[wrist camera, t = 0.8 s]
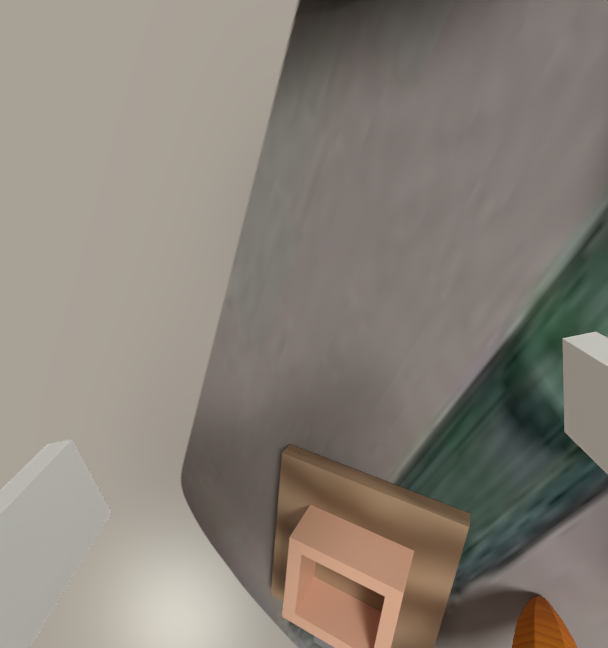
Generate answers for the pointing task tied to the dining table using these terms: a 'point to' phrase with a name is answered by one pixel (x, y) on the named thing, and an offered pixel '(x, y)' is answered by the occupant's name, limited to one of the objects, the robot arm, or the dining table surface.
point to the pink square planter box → (354, 563)
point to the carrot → (541, 627)
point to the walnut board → (382, 519)
